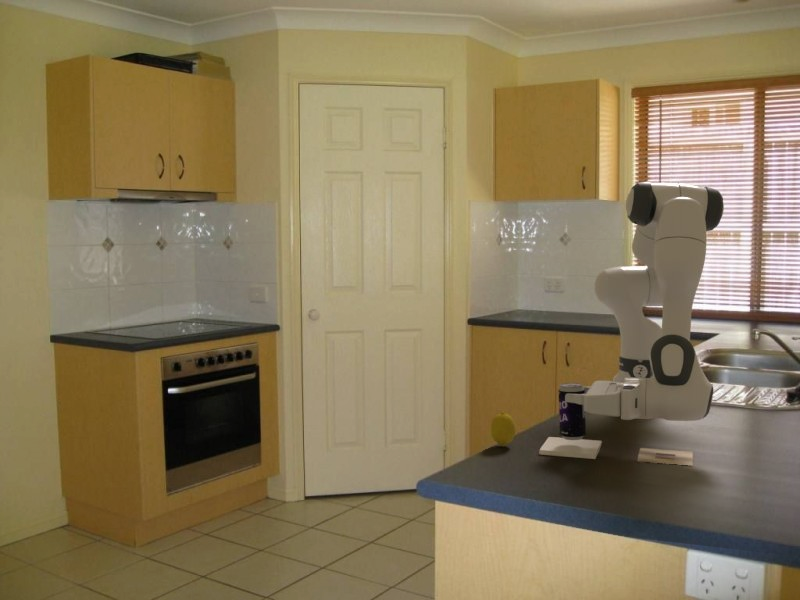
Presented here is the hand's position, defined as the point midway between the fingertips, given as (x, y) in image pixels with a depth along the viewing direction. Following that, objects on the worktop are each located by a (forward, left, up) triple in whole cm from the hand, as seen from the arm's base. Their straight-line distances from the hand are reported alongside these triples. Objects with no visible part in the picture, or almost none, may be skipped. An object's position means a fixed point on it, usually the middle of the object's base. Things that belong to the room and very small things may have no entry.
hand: (567, 394), depth 180 cm
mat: (0, +1, -12) cm, 13 cm away
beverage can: (0, +1, -10) cm, 10 cm away
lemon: (+2, -14, -13) cm, 19 cm away
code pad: (0, +21, -12) cm, 24 cm away
